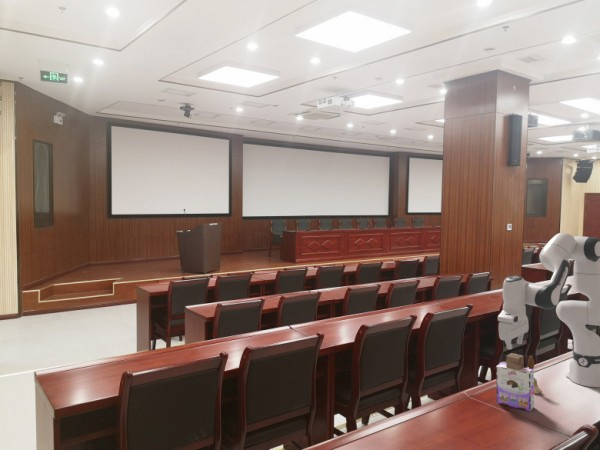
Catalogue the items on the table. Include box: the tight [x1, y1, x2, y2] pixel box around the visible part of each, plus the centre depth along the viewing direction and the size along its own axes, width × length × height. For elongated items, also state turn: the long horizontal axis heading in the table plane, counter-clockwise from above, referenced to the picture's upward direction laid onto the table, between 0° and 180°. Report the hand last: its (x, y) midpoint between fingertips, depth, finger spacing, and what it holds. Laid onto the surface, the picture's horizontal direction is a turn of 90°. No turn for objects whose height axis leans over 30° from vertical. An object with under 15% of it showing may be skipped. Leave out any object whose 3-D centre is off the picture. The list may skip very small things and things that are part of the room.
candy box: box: [495, 362, 535, 412], centre depth 186 cm, size 14×6×16 cm, turn 47°
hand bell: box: [527, 355, 542, 395], centre depth 201 cm, size 8×8×16 cm
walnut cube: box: [505, 352, 525, 370], centre depth 186 cm, size 5×5×5 cm
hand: (514, 346), depth 185 cm, fingers open, 8 cm apart
